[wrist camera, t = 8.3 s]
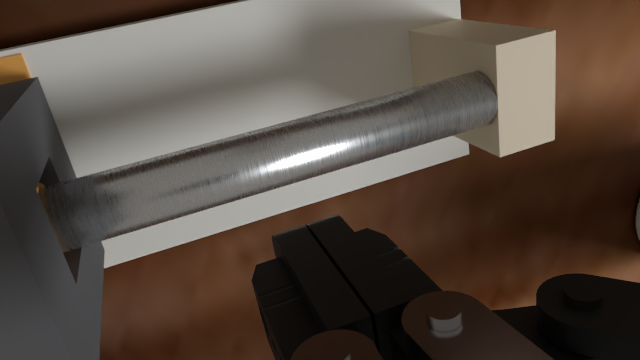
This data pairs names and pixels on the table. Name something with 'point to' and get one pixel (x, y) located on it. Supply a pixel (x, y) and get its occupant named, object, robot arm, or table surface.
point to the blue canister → (638, 220)
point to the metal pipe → (263, 159)
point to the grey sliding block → (41, 242)
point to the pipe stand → (276, 90)
